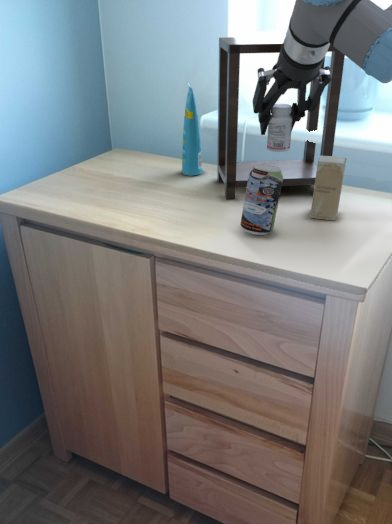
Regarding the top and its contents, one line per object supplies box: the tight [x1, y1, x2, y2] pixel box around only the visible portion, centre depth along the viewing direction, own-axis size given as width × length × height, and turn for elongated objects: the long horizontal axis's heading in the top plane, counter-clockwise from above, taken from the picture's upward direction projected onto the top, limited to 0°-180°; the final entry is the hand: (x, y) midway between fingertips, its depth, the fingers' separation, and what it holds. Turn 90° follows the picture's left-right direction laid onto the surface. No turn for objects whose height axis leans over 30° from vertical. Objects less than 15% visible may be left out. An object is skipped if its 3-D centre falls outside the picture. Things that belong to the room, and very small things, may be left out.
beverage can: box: [240, 164, 283, 236], centre depth 100 cm, size 6×7×12 cm
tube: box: [181, 83, 203, 177], centre depth 129 cm, size 7×5×19 cm, turn 12°
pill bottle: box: [266, 103, 293, 153], centre depth 112 cm, size 5×5×8 cm
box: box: [309, 155, 348, 221], centre depth 107 cm, size 5×4×11 cm
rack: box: [216, 35, 346, 201], centre depth 117 cm, size 14×22×29 cm, turn 96°
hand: (275, 128), depth 116 cm, fingers closed on pill bottle, 5 cm apart
